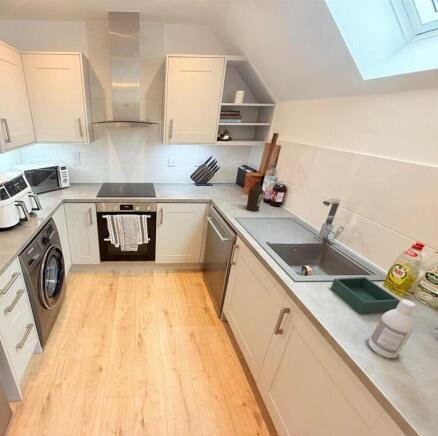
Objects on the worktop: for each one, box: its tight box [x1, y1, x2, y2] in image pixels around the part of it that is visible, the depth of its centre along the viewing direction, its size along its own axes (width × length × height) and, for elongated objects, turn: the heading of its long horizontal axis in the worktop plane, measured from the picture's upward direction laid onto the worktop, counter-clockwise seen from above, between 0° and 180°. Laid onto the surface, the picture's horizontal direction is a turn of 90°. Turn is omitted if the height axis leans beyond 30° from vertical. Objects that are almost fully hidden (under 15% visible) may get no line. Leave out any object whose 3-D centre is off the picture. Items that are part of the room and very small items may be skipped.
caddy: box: [330, 276, 401, 315], centre depth 98 cm, size 15×15×6 cm
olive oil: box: [246, 178, 264, 212], centre depth 190 cm, size 11×11×25 cm
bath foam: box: [368, 298, 416, 359], centre depth 74 cm, size 7×7×20 cm
